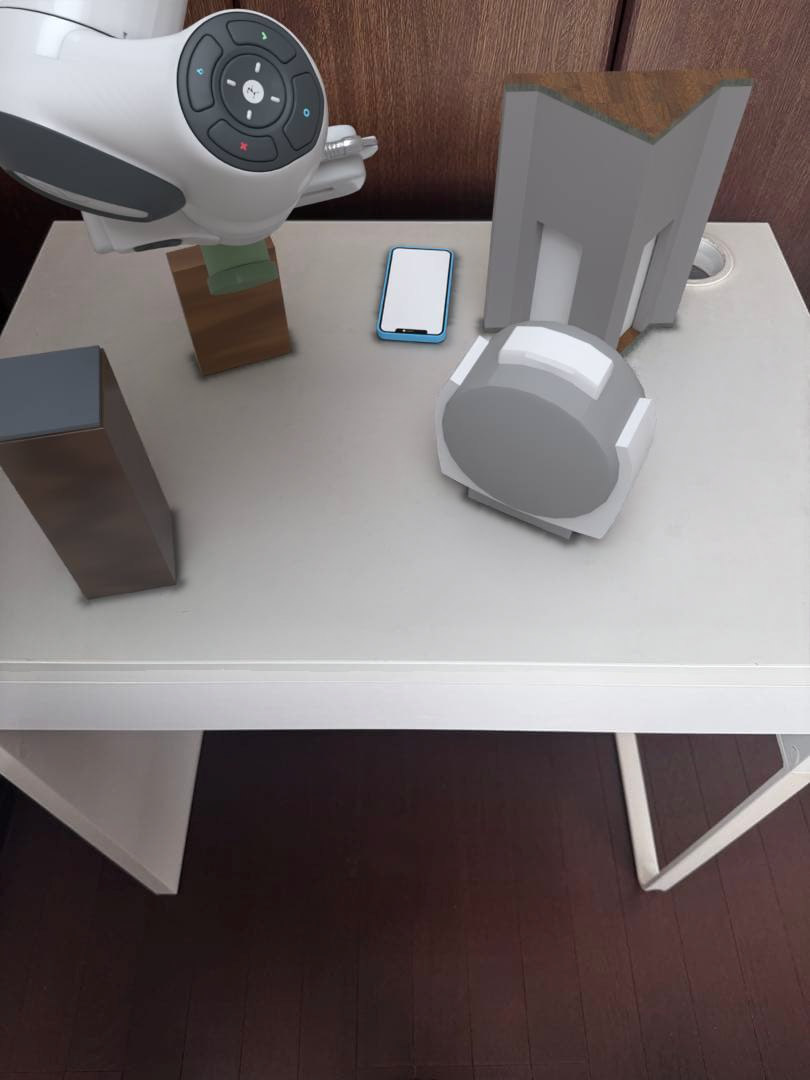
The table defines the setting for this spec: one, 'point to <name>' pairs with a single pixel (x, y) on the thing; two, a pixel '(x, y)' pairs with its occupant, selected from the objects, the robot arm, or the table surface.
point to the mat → (50, 392)
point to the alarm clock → (545, 427)
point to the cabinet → (606, 194)
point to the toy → (237, 267)
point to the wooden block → (229, 315)
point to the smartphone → (416, 294)
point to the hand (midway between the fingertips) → (221, 211)
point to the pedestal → (97, 499)
